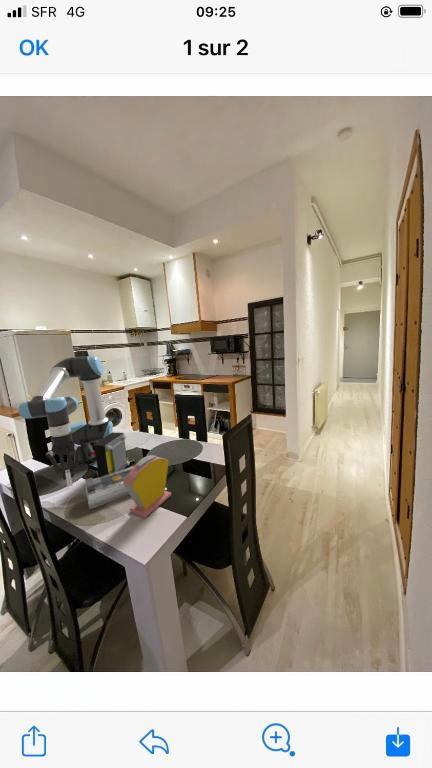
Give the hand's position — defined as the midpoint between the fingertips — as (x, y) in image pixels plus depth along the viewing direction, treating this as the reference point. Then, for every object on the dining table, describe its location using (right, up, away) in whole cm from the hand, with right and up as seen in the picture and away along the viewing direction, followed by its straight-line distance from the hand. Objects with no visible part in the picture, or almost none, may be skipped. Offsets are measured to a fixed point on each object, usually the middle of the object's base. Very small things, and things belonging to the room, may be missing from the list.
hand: (69, 484), depth 109 cm
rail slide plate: (+16, -8, +12) cm, 22 cm away
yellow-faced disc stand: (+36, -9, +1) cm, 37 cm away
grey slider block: (+8, -5, +6) cm, 11 cm away
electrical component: (+7, -5, +30) cm, 31 cm away
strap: (+17, -3, +12) cm, 21 cm away
